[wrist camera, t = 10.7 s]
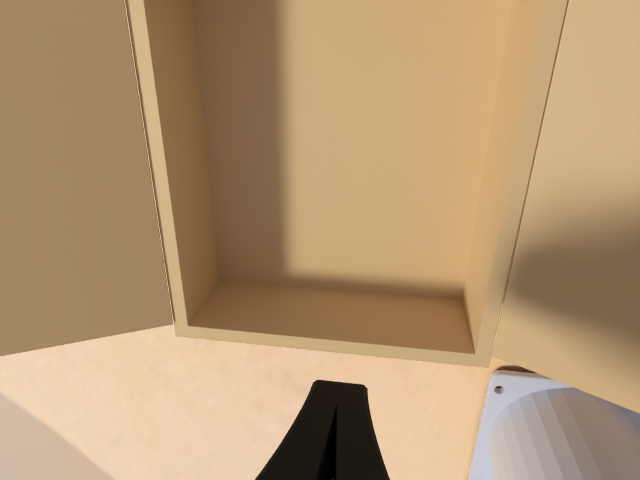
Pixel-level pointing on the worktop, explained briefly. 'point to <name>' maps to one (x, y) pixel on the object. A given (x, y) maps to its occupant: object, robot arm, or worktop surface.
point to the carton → (343, 166)
